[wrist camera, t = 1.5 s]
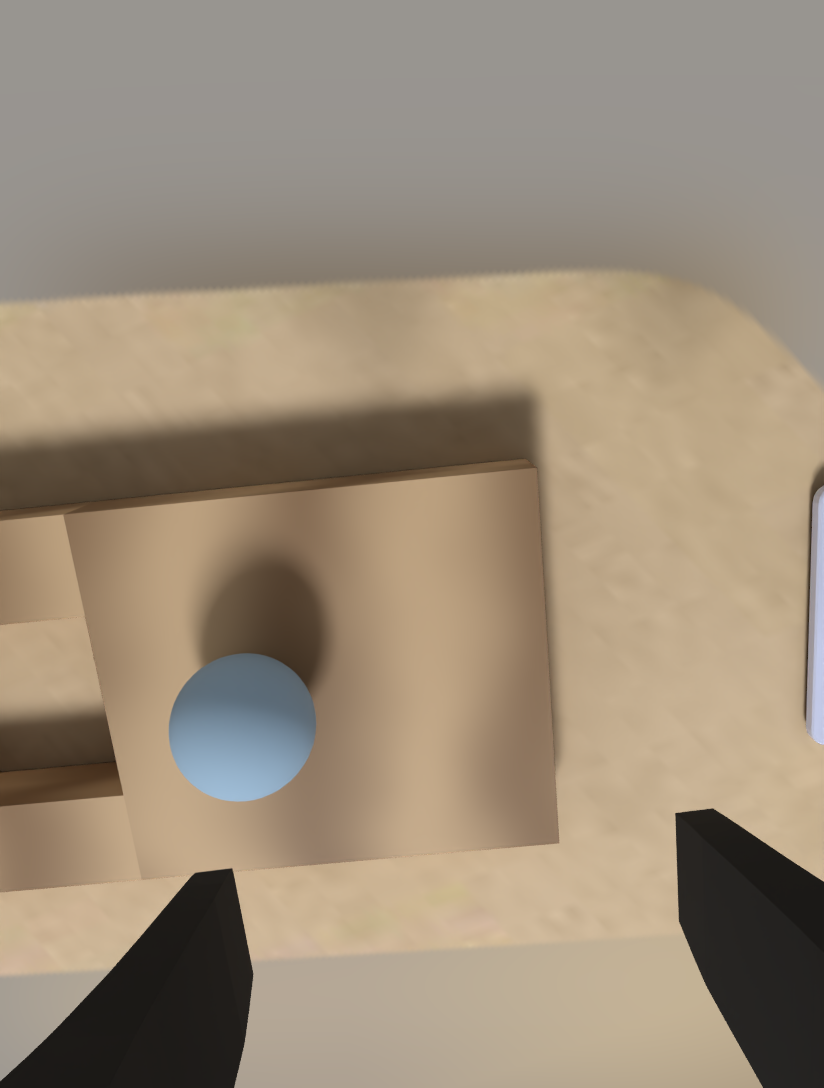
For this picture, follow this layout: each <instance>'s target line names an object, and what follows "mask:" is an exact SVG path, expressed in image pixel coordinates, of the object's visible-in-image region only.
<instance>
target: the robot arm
mask: <svg viewBox="0 0 824 1088" xmlns="http://www.w3.org/2000/svg"><path fill="white" fill-rule="evenodd" d="M806 729H807V733H808V734H809V735H810V737H811V738H812V739H814V740H815V741H816V742H817V743H819V744H822V745H824V485H823V486H822V487H821V488H819V489H818V490H817V492H816V493H815V495H814V498H813V509H812V542H811V576H810V610H809V644H808V678H807V712H806ZM675 815H676V845H677V876H678V906H679V922H680V925H681V927H682V929H683V932H684V934H685V937H686V939H687V941H688V944H689V946H690V949H691V951H692V954H693V956H694V958H695V961H696V963H697V965H698V968H699V970H700V972H701V975H702V977H703V979H704V982H705V984H706V986H707V988H708V990H709V992H710V993H711V995H712V997H713V999H714V1001H715V1003H716V1004H717V1006H718V1008H719V1010H720V1012H721V1013H722V1015H723V1017H724V1019H725V1021H726V1022H727V1024H728V1026H729V1028H730V1030H731V1031H732V1033H733V1035H734V1037H735V1038H736V1040H737V1042H738V1044H739V1046H740V1047H741V1049H742V1051H743V1053H744V1054H745V1056H746V1058H747V1060H748V1061H749V1063H750V1065H751V1067H752V1069H753V1070H754V1072H755V1074H756V1076H757V1077H758V1079H759V1081H760V1083H761V1085H762V1086H763V1088H824V882H823V881H822V880H820V879H818V878H817V877H815V876H814V875H812V874H811V873H809V872H808V871H806V870H805V869H803V868H801V867H800V866H798V865H797V864H795V863H794V862H792V861H791V860H789V859H788V858H786V857H785V856H783V855H782V854H780V853H779V852H777V851H776V850H774V849H773V848H771V847H770V846H768V845H767V844H766V843H764V842H763V841H761V840H760V839H758V838H757V837H755V836H754V835H752V834H751V833H749V832H748V831H746V830H745V829H743V828H742V827H740V826H739V825H737V824H736V823H734V822H733V821H731V820H730V819H728V818H727V817H725V816H724V815H722V814H721V813H719V812H718V811H716V810H714V809H705V810H697V811H689V812H681V813H675ZM252 981H253V970H252V965H251V960H250V955H249V950H248V945H247V940H246V934H245V929H244V924H243V919H242V914H241V909H240V904H239V899H238V894H237V889H236V884H235V879H234V874H233V869H232V868H229V869H221V870H213V871H205V872H197V873H194V874H193V875H192V877H191V878H190V879H189V880H188V881H187V882H186V883H185V885H184V886H183V887H182V888H181V889H180V891H179V892H178V893H177V894H176V895H175V896H174V898H173V899H172V900H171V901H170V902H169V904H168V905H167V906H166V907H165V908H164V909H163V911H162V912H161V913H160V914H159V915H158V917H157V918H156V919H155V920H154V921H153V923H152V924H151V925H150V926H149V927H148V928H147V930H146V931H145V932H144V933H143V934H142V936H141V937H140V938H139V939H138V940H137V941H136V943H135V944H134V945H133V946H132V947H131V948H130V949H129V951H128V952H127V953H126V954H125V955H124V956H123V957H122V959H121V960H120V961H119V962H118V963H117V964H116V966H115V967H114V968H113V969H112V970H111V971H110V972H109V974H108V975H107V976H106V977H105V978H104V979H103V980H102V981H101V982H100V983H99V984H98V985H97V986H96V987H95V988H94V990H93V991H92V992H91V993H90V994H89V995H88V996H87V997H86V998H85V999H84V1000H83V1001H82V1002H81V1003H80V1004H79V1005H78V1006H77V1007H76V1008H75V1010H74V1011H73V1012H72V1013H71V1014H70V1015H69V1016H68V1017H67V1018H66V1019H65V1020H64V1021H63V1022H62V1023H61V1024H60V1025H59V1026H58V1027H57V1028H56V1029H55V1030H54V1031H53V1033H51V1034H50V1035H49V1036H48V1037H47V1039H45V1040H44V1041H43V1042H42V1043H41V1044H40V1045H39V1046H38V1047H37V1048H36V1049H35V1050H34V1051H33V1052H32V1053H31V1054H30V1055H29V1056H28V1057H27V1058H25V1060H23V1061H22V1062H21V1063H20V1064H19V1065H18V1066H17V1067H16V1068H14V1069H13V1070H12V1071H11V1072H10V1073H9V1074H8V1075H7V1076H6V1077H5V1078H3V1079H2V1080H1V1081H0V1088H234V1085H235V1081H236V1077H237V1073H238V1069H239V1065H240V1061H241V1056H242V1052H243V1048H244V1042H245V1036H246V1029H247V1022H248V1014H249V1006H250V998H251V990H252Z"/></svg>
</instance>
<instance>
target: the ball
mask: <svg viewBox="0 0 824 1088" xmlns="http://www.w3.org/2000/svg"><path fill="white" fill-rule="evenodd" d="M315 734H316V713H315V708H314V703H313V700H312V697H311V695H310V693H309V691H308V689H307V687H306V685H305V684H304V683H303V681H302V680H301V678H300V677H299V676H298V675H297V674H296V673H295V672H294V671H293V670H292V669H290V668H289V667H288V666H286V665H285V664H283V663H282V662H280V661H278V660H276V659H274V658H271V657H268V656H264V655H260V654H252V653H240V654H234V655H229V656H225V657H222V658H219V659H217V660H214V661H212V662H211V663H209V664H207V665H206V666H204V667H202V668H201V669H200V670H198V671H197V672H196V673H195V674H194V675H193V676H192V677H191V678H190V679H189V680H188V681H187V682H186V683H185V685H184V686H183V688H182V689H181V691H180V692H179V694H178V696H177V698H176V700H175V702H174V705H173V708H172V711H171V715H170V720H169V743H170V748H171V752H172V755H173V758H174V760H175V762H176V765H177V766H178V768H179V770H180V771H181V773H182V774H183V775H184V777H185V778H186V779H187V780H188V781H189V782H190V783H191V784H192V785H193V786H195V787H196V788H197V789H199V790H200V791H202V792H203V793H205V794H207V795H209V796H212V797H214V798H217V799H221V800H226V801H236V802H240V801H251V800H256V799H260V798H263V797H265V796H267V795H270V794H272V793H274V792H276V791H278V790H279V789H281V788H282V787H284V786H285V785H286V784H287V783H289V782H290V781H291V780H292V779H293V778H294V777H295V776H296V775H297V774H298V772H299V771H300V770H301V768H302V767H303V766H304V764H305V762H306V761H307V759H308V757H309V754H310V752H311V749H312V747H313V744H314V739H315Z"/></svg>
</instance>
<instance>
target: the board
mask: <svg viewBox="0 0 824 1088" xmlns="http://www.w3.org/2000/svg"><path fill="white" fill-rule="evenodd" d="M77 617H85V619H86V623H87V628H88V633H89V637H90V642H91V646H92V651H93V656H94V660H95V665H96V670H97V674H98V679H99V684H100V688H101V693H102V698H103V702H104V707H105V712H106V716H107V721H108V725H109V730H110V735H111V739H112V744H113V749H114V753H115V758H116V762H109V763H98V764H88V765H77V766H66V767H55V768H44V769H33V770H22V771H11V772H0V892H10V891H21V890H33V889H44V888H55V887H67V886H78V885H89V884H101V883H112V882H124V881H135V880H146V879H158V878H169V877H180V876H192V875H193V874H194V873H197V872H205V871H213V870H221V869H229V868H232V869H233V872H237V871H249V870H260V869H272V868H283V867H294V866H306V865H317V864H328V863H340V862H351V861H363V860H374V859H385V858H397V857H408V856H419V855H431V854H442V853H454V852H465V851H476V850H488V849H499V848H511V847H522V846H533V845H545V844H556V843H559V829H558V812H557V796H556V779H555V762H554V745H553V728H552V712H551V695H550V678H549V661H548V644H547V628H546V611H545V594H544V577H543V560H542V544H541V527H540V510H539V493H538V476H537V467H535V466H534V465H533V464H531V463H530V462H529V461H527V460H526V459H516V460H506V461H496V462H486V463H476V464H466V465H456V466H446V467H436V468H426V469H416V470H406V471H396V472H386V473H375V474H365V475H355V476H345V477H335V478H325V479H315V480H305V481H295V482H285V483H275V484H265V485H255V486H245V487H235V488H224V489H214V490H204V491H194V492H184V493H174V494H164V495H154V496H144V497H134V498H124V499H114V500H104V501H94V502H84V503H73V504H63V505H53V506H43V507H33V508H23V509H13V510H3V511H0V625H4V624H14V623H25V622H35V621H45V620H56V619H66V618H77ZM240 653H252V654H260V655H264V656H268V657H271V658H274V659H276V660H278V661H280V662H282V663H283V664H285V665H286V666H288V667H289V668H290V669H292V670H293V671H294V672H295V673H296V674H297V675H298V676H299V677H300V678H301V680H302V681H303V683H304V684H305V685H306V687H307V689H308V691H309V693H310V695H311V697H312V700H313V703H314V708H315V713H316V734H315V739H314V744H313V747H312V749H311V752H310V754H309V757H308V759H307V761H306V762H305V764H304V766H303V767H302V768H301V770H300V771H299V772H298V774H297V775H296V776H295V777H294V778H293V779H292V780H291V781H290V782H289V783H287V784H286V785H285V786H284V787H282V788H281V789H279V790H278V791H276V792H274V793H272V794H270V795H267V796H265V797H263V798H260V799H256V800H251V801H240V802H236V801H226V800H221V799H217V798H214V797H212V796H209V795H207V794H205V793H203V792H202V791H200V790H199V789H197V788H196V787H195V786H193V785H192V784H191V783H190V782H189V781H188V780H187V779H186V778H185V777H184V775H183V774H182V773H181V771H180V770H179V768H178V766H177V765H176V762H175V760H174V758H173V755H172V752H171V748H170V743H169V720H170V715H171V711H172V708H173V705H174V702H175V700H176V698H177V696H178V694H179V692H180V691H181V689H182V688H183V686H184V685H185V683H186V682H187V681H188V680H189V679H190V678H191V677H192V676H193V675H194V674H195V673H196V672H197V671H198V670H200V669H201V668H202V667H204V666H206V665H207V664H209V663H211V662H212V661H214V660H217V659H219V658H222V657H225V656H229V655H234V654H240Z"/></svg>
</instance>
